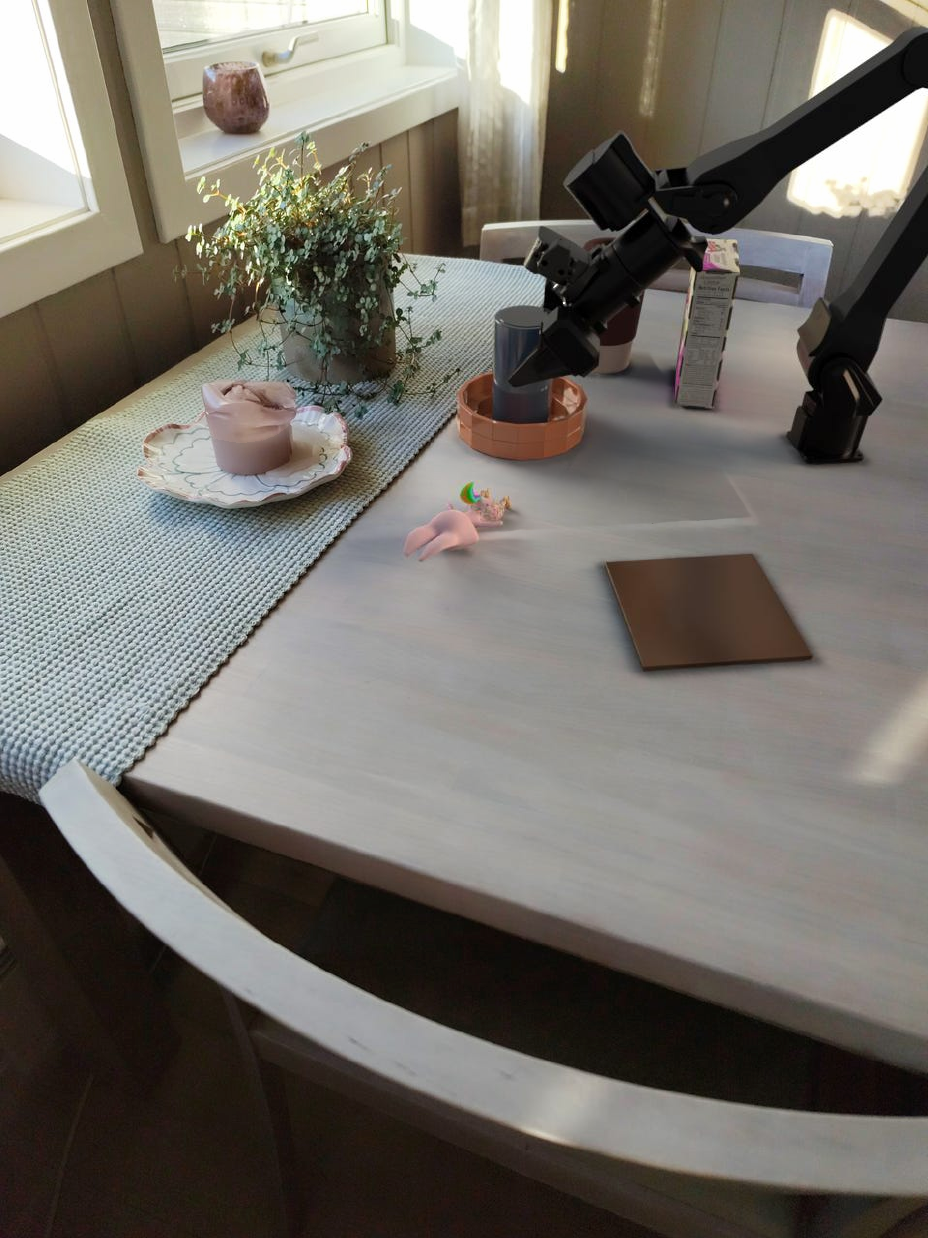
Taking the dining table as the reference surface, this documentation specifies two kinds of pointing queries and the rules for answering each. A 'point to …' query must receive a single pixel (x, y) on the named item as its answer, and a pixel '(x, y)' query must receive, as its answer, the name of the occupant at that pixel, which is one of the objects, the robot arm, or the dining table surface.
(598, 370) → the coffee cup
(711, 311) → the candy bar box
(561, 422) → the bowl
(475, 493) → the rabbit figure
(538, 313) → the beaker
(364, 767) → the dining table surface
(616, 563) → the board
